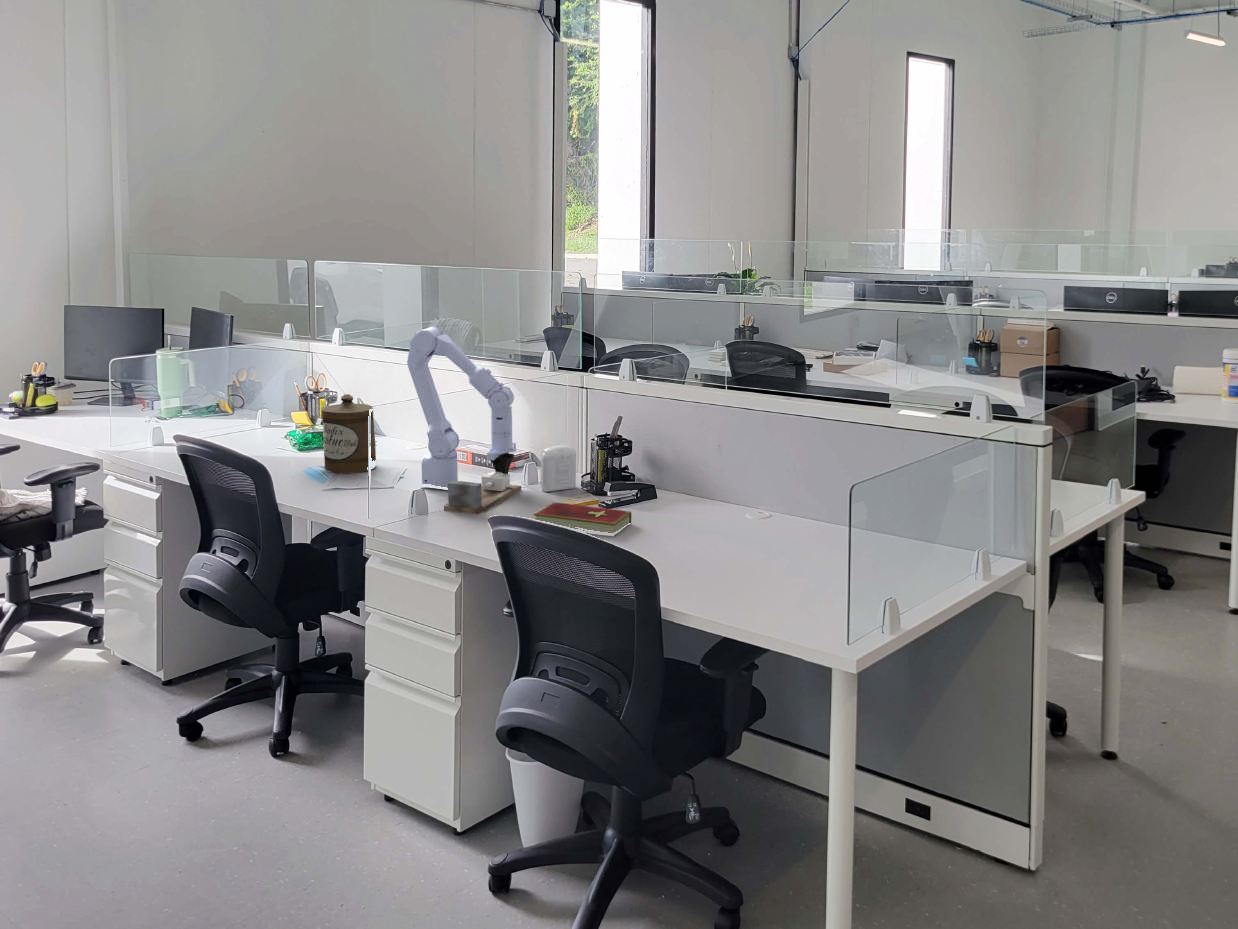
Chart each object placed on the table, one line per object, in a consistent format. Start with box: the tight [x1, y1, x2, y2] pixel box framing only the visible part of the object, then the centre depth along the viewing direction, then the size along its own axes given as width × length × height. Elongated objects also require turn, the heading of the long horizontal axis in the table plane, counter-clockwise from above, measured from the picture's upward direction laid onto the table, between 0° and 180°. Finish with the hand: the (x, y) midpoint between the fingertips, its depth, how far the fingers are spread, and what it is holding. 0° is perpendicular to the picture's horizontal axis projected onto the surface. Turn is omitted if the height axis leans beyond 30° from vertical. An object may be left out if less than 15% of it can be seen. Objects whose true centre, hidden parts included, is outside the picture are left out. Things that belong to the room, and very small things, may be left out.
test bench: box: [443, 480, 522, 515], centre depth 287 cm, size 10×26×7 cm, turn 161°
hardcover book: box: [533, 501, 632, 533], centre depth 265 cm, size 12×21×4 cm, turn 69°
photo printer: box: [540, 444, 577, 493], centre depth 298 cm, size 10×4×12 cm, turn 123°
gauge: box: [481, 471, 512, 491], centre depth 292 cm, size 8×8×4 cm
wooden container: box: [321, 393, 377, 474], centre depth 317 cm, size 15×15×22 cm
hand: (502, 480), depth 297 cm, fingers closed
